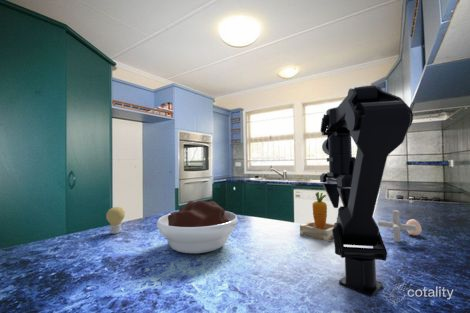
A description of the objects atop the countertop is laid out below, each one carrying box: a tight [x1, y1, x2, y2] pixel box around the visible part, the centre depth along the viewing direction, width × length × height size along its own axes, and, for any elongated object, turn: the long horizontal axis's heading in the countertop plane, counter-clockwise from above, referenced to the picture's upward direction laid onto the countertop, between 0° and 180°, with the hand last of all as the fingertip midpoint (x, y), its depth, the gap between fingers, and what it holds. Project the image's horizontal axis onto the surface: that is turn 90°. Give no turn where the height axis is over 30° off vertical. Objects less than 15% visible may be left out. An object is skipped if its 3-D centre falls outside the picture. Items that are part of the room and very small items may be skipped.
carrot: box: [312, 191, 328, 229], centre depth 80 cm, size 5×5×15 cm
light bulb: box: [105, 206, 126, 235], centre depth 86 cm, size 6×6×10 cm
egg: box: [405, 218, 422, 236], centre depth 79 cm, size 4×4×6 cm
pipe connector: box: [377, 209, 416, 243], centre depth 73 cm, size 10×10×10 cm
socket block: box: [299, 220, 334, 243], centre depth 80 cm, size 10×10×4 cm
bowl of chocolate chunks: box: [156, 199, 239, 254], centre depth 70 cm, size 25×25×15 cm
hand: (342, 211), depth 60 cm, fingers open, 9 cm apart
